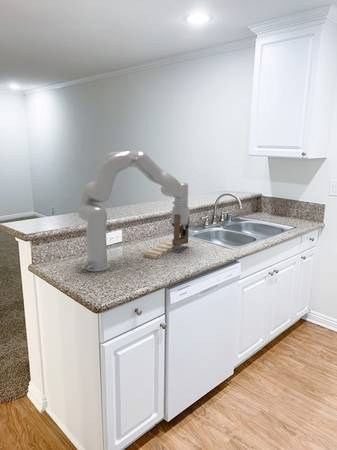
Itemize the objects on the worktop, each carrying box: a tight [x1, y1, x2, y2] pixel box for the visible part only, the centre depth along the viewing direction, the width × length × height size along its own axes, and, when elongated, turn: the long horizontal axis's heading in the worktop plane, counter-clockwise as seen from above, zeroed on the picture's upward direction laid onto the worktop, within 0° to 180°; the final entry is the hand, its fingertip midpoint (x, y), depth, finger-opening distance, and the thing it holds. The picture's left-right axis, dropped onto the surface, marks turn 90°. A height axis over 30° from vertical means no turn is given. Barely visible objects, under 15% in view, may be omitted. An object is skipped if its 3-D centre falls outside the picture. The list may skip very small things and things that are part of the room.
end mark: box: [170, 245, 190, 254], centre depth 203 cm, size 14×6×1 cm, turn 153°
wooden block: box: [172, 215, 190, 246], centre depth 201 cm, size 4×11×18 cm, turn 138°
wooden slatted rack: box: [142, 240, 181, 260], centre depth 199 cm, size 30×8×2 cm, turn 153°
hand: (180, 234), depth 201 cm, fingers closed on wooden block, 4 cm apart
